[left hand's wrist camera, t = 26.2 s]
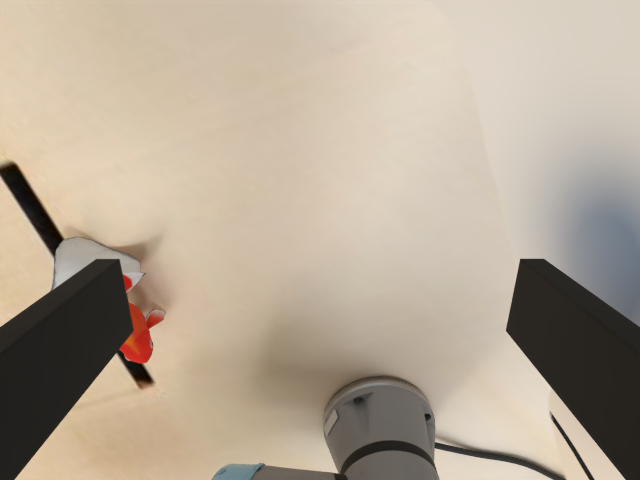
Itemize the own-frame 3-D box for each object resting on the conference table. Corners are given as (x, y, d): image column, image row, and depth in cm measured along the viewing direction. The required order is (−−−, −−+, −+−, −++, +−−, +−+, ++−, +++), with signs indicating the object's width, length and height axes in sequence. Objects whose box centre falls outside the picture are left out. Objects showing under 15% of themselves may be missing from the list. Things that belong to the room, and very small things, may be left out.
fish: (81, 376, 45) (41, 397, 35) (58, 249, 47) (14, 236, 37) (175, 350, 48) (161, 363, 38) (150, 232, 49) (132, 215, 40)
